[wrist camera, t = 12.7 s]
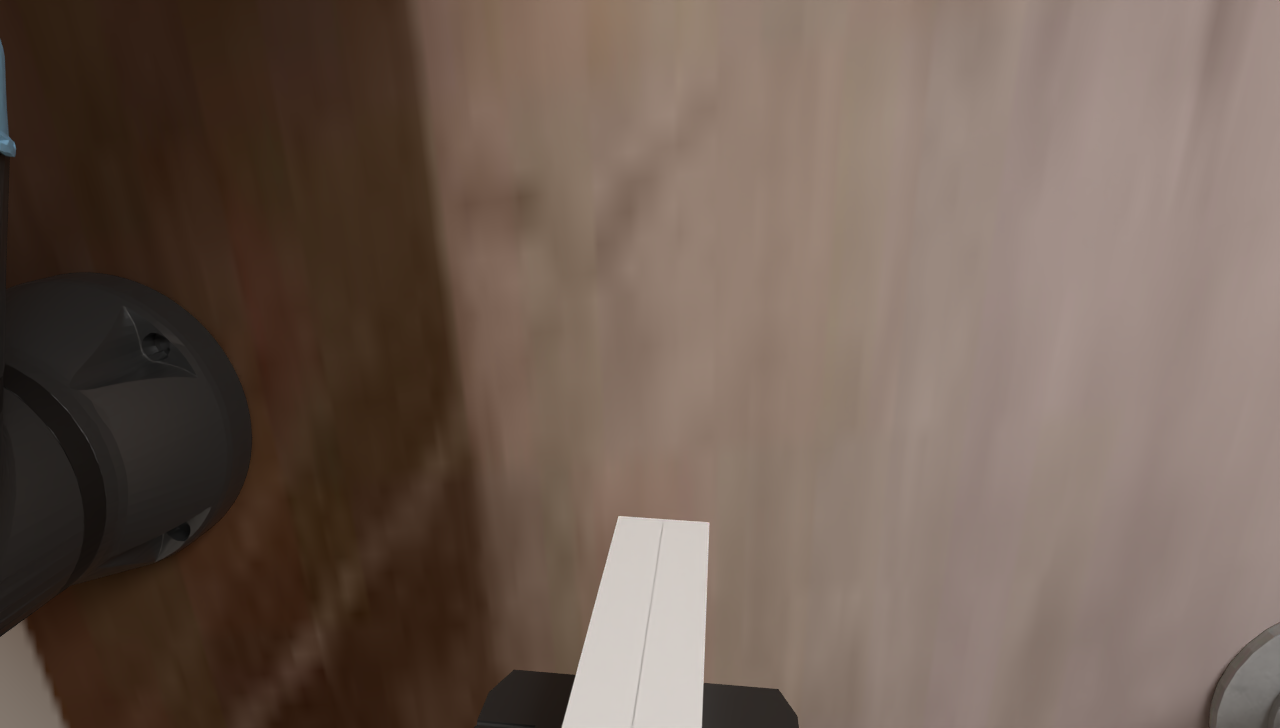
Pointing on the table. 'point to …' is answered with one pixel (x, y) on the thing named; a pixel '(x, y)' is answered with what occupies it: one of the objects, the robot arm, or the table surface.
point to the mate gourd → (1250, 686)
